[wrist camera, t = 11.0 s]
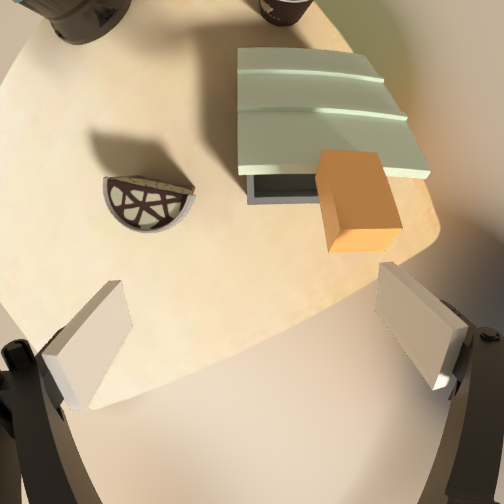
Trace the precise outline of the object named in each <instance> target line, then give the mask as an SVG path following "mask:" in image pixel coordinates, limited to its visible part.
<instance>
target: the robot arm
mask: <svg viewBox="0 0 504 504" xmlns="http://www.w3.org/2000/svg"><path fill="white" fill-rule="evenodd" d="M13 1H14V2H15V3H19V4H22V5H23V6H25V7H27V8H29V9H31V10H32V11H34V12H36V13H38V14H40V15H41V16H43V17H45V18H47V19H48V20H49V21H50V23H51V25H52V27H53V29H54V30H55V33H56V34H57V36H58V37H59V38H61V39H62V40H64V41H65V42H67V43H69V44H73V45H81V44H86V43H89V42H92V41H94V40H96V39H98V38H100V37H102V36H103V35H105V34H106V33H108V32H109V31H110V30H111V29H113V28H114V27H115V26H116V25H117V24H118V23H119V22H120V20H121V19H122V18H123V17H124V15H125V14H126V12H127V10H128V8H129V6H130V3H131V0H13ZM375 312H376V313H377V314H378V316H379V317H380V318H381V320H382V321H383V322H384V324H385V325H386V326H387V328H388V329H389V330H390V332H391V333H392V334H393V336H394V337H395V338H396V339H397V341H398V342H399V344H400V345H401V346H402V348H403V349H404V350H405V352H406V353H407V355H408V356H409V357H410V359H411V360H412V362H413V363H414V364H415V366H416V367H417V369H418V370H419V371H420V373H421V374H422V376H423V377H424V379H425V380H426V381H427V383H428V384H429V386H430V387H431V389H432V390H435V389H438V388H441V387H444V386H447V385H448V383H449V381H450V378H451V376H452V373H453V374H454V376H455V377H456V378H457V381H456V383H455V386H454V388H453V390H452V392H451V395H450V397H449V399H448V400H451V404H450V408H449V412H448V417H447V420H446V424H445V428H444V432H443V435H442V439H441V442H440V445H439V448H438V451H437V455H436V458H435V461H434V463H433V466H432V469H431V472H430V474H429V477H428V480H427V482H426V485H425V487H424V490H423V492H422V495H421V497H420V499H419V501H418V503H417V504H500V503H498V502H494V494H495V489H496V485H497V479H498V473H499V468H500V462H501V455H502V446H503V437H504V337H503V338H502V335H501V334H500V333H499V332H498V331H496V330H494V329H491V328H488V327H481V328H477V327H476V326H475V325H473V324H472V323H471V322H470V321H469V320H468V319H467V318H466V317H464V316H463V315H461V313H460V312H459V311H456V309H455V308H454V307H453V306H452V305H450V304H449V303H447V302H445V301H443V300H438V299H437V298H436V297H435V296H434V295H432V294H431V293H430V292H429V291H428V290H426V289H425V288H424V287H423V286H422V285H420V284H419V283H418V282H417V281H416V280H415V279H413V278H412V277H411V276H409V275H408V274H407V273H406V272H405V271H403V270H402V269H401V268H400V267H398V266H397V265H396V264H395V263H393V262H384V263H379V274H378V285H377V294H376V302H375ZM132 328H133V324H132V321H131V317H130V313H129V309H128V305H127V301H126V297H125V293H124V289H123V284H122V280H116V281H108V282H107V283H106V284H105V285H104V286H103V287H102V288H101V289H100V290H99V291H98V292H97V293H96V294H95V295H94V297H93V298H92V299H91V300H90V301H89V302H88V303H87V304H86V305H85V306H84V307H83V308H82V309H81V310H80V311H79V312H78V313H77V314H76V316H75V317H74V318H73V319H72V320H71V321H70V322H69V323H68V324H67V325H66V326H64V327H63V328H61V329H60V330H58V331H57V332H56V333H55V335H54V336H53V337H52V338H51V339H50V340H49V341H48V343H46V345H45V346H44V347H43V348H42V349H41V350H40V351H39V353H38V354H37V355H36V356H34V354H33V352H32V350H31V348H30V345H29V343H28V341H27V340H25V339H18V340H14V341H12V342H10V343H8V344H7V345H5V346H4V347H3V349H2V350H1V355H2V357H3V359H4V361H5V363H6V365H7V367H8V369H9V371H1V370H0V504H22V499H21V474H22V478H23V482H24V487H25V490H26V494H27V498H28V501H29V504H102V502H101V500H100V498H99V496H98V494H97V492H96V490H95V488H94V486H93V484H92V482H91V480H90V478H89V476H88V473H87V471H86V469H85V467H84V465H83V462H82V460H81V457H80V455H79V452H78V450H77V447H76V445H75V442H74V440H73V437H72V434H71V431H70V429H69V426H68V423H67V420H66V417H65V414H64V411H63V409H62V408H61V406H60V404H61V403H62V401H63V400H65V402H66V403H67V405H68V407H69V409H70V410H74V411H80V412H86V410H87V408H88V406H89V404H90V402H91V400H92V399H93V397H94V395H95V393H96V391H97V389H98V387H99V386H100V384H101V382H102V380H103V378H104V376H105V375H106V373H107V371H108V369H109V367H110V366H111V364H112V362H113V360H114V359H115V357H116V355H117V353H118V352H119V350H120V348H121V346H122V345H123V343H124V341H125V340H126V338H127V336H128V334H129V333H130V331H131V329H132Z"/></svg>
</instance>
